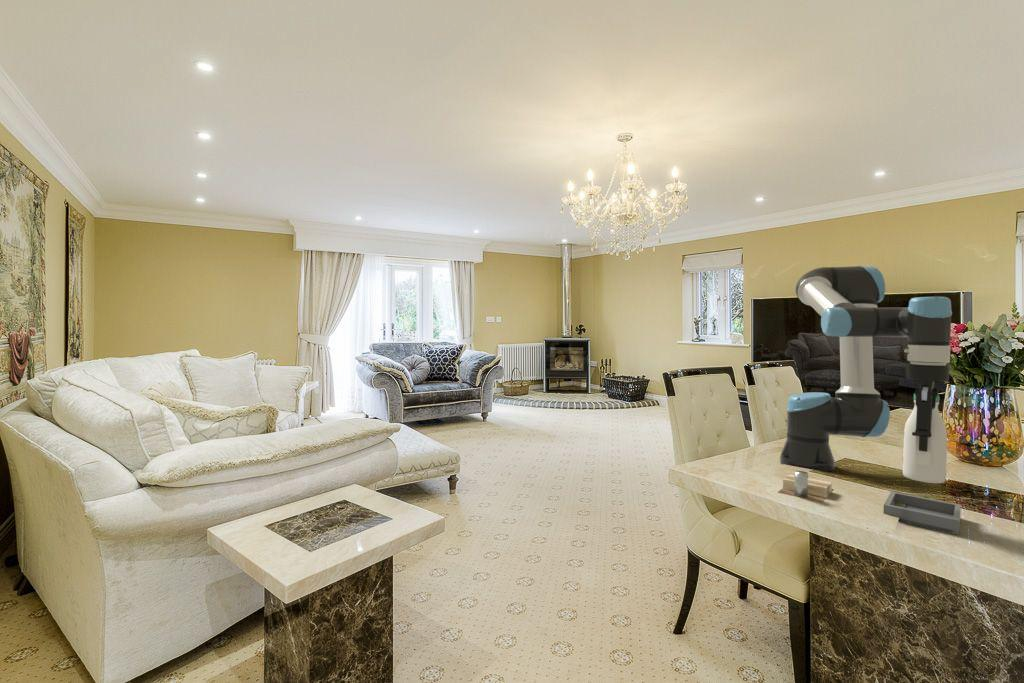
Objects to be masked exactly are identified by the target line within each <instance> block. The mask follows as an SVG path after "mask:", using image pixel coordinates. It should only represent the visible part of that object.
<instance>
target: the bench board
mask: <svg viewBox="0 0 1024 683" xmlns="http://www.w3.org/2000/svg"><path fill="white" fill-rule="evenodd" d="M834 490H835V489H834V488H832V492H833V491H834ZM778 493H779V494H783V495H788V496H792V497H797V496H795V495H794V491H793V490H788V489H784V488H783V487H782V488H781V489H780V490H779V491H777V494H778ZM797 498H798V497H797ZM799 498H800V499H801V498H802V497H799ZM802 499H803V498H802ZM804 499H806V500H808V501H809V500H810V501H813V502H814V501H815V502H818V503H819V502H820V503H823V502H824V501H825V500H826V498H825V497H820V496H816V495H811V494H808V497H806V498H804Z"/></svg>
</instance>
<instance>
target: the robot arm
mask: <svg viewBox="0 0 1024 683" xmlns="http://www.w3.org/2000/svg"><path fill="white" fill-rule="evenodd" d="M885 293H886V283H885V278H884V275H883V273H882V272H881V271H880V270H879V269H878V268H877V267H874V266H862V265H857V266H836V267H835V266H832V267H831V266H829V267H828V266H827V267H826V266H823V267H822V266H821V267H817V268H814V269H812V270H810V271H808V272H806V273H804V274H803V275H802V276H801V277H800V278H799V279H798V281H797V283H796V285H795V294H796V297H797V298H798V300H799V301H801V303H802V304H804V305H805V306H809V307H811V308H813V309H814V311H815V312H816V313H817V314H818V315H819V316H820V317H821V318H820V328H821V330H822V331H821V332H822V333H823V334H824V335H825V336H827V337H837V338H839V355H840V356H839V361H840V362H839V366H840V371H839V372H840V387H839V389H837V390H836V391H835V393H834V395H835V396H834V397H832V396H831V394H830V393H828V392H821V391H820V392H815V391H814V392H802V393H801V392H800V393H795V394H792V395H790V396H789V397H788V399H787V407H786V412H787V414H786V418H787V420H786V441H785V442H784V445H783V447H782V450H781V453H780V455H779V463H780V464H782V465H785V466H791V467H795V468H801V469H808V470H813V471H818V472H822V473H823V472H824V473H828V472H833V471H835V470H836V461H835V458H834V455H833V452H832V450H831V446H830V435H831V436H832V435H833V436H847V437H849V436H850V437H862V438H877V437H880V436H882V435H883V434H884V433H885V431H886V430H887V429H888V426H889V422H890V417H891V410H890V407H889V406H890V404H888V401H887V400H884V399H882V398H881V393H880V392H879V391H878V390H876V389H875V379H874V378H875V376H874V374H875V373H874V349H873V348H874V347H873V346H874V345H873V338H904V339H905V338H907V348H904V350H903V352H904V353H906V354H907V353H908V354H907V358H906V360H907V361H908V362H909V363H908V364H907V365H906V379H908V380H910V381H919V387H916V388H914V389H915V390H914V393H915V395H916V406H917V417H916V430H915V432H912V435H913V436H916V447H915V464H918V465H925V466H931V444H932V437H931V435H932V434H931V423H932V409H934V408H935V405H936V397H937V396H938V395H939V388H937V387H936V386H935V383H947V382H948V381H949V380H950V366H949V365H947V364H949V363H950V362H951V329H952V328H951V327H952V315H953V311H952V301H951V299H950V298H949V297H946V296H919V297H911V298H910V300H909V301H908V307H907V306H906V307H900V306H899V307H897V306H896V307H894V306H893V307H887V306H886V307H878V304H879V303H881V302H882V301H883V300H884V299H885ZM932 395H933V401H932ZM921 429H923V430H921Z"/></svg>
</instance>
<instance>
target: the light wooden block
mask: <svg viewBox="0 0 1024 683" xmlns="http://www.w3.org/2000/svg"><path fill="white" fill-rule="evenodd" d="M794 476H795V474H788V475H786V476H785V477H783V479H782V488H784V489H788V490H793V491H794ZM832 486H833V483H832V482H830V481H825V480H820V479H814V478H810V477H808V494H811V495H816V496H820V497H825V499H826V498H828V497H829V496H830V494H831V493H832V492H833V491H832V489H833V488H832Z"/></svg>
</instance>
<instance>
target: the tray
mask: <svg viewBox="0 0 1024 683" xmlns="http://www.w3.org/2000/svg"><path fill="white" fill-rule="evenodd" d="M896 502H897V503H901V504H904V506H903V507H902V506H898V505H895V503H896ZM882 512H883V513H882V514H885V515H889V516H893V517H898V520H897V522H898V523H903V524H907V525H911V526H912V525H913V526H917V527H920V528H925V529H928V530H933V531H938V532H943V533H947V534H950V535H951V534H952V535H956V536H959V535H960V534H959V533H960V524H961V517H962V516H961V514H962V505H961V504H958V503H953V502H948V501H944V500H943V501H942V500H938V499H934V498H933V499H932V498H926V497H923V496H917V495H911V494H908V493H902V492H901V493H900V492H897V491H890V492H889V495H888V496H887V498H886V500H885V501H884V503H883V511H882Z"/></svg>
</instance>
